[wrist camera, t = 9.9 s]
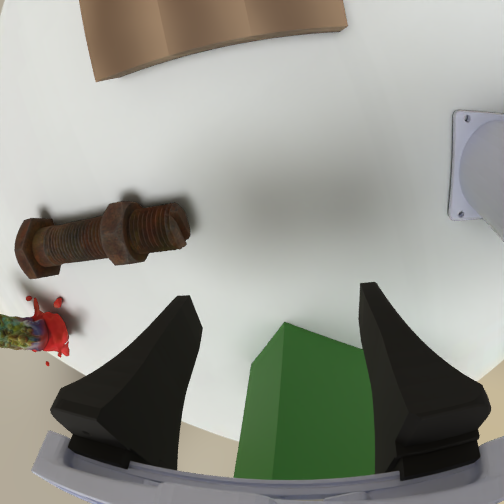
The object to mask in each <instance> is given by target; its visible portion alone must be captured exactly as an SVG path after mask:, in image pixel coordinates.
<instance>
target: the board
mask: <svg viewBox="0 0 504 504" xmlns="http://www.w3.org/2000/svg"><path fill="white" fill-rule="evenodd" d="M79 3H80V9H81V15H82V20H83V25H84V31H85V36H86V41H87V45H88V50H89V55H90V59H91V64H92V68H93V72H94V76H95V80H96V82H99V81H104V80H109V79H114V78H119V77H122V76H125V75H128V74H130V73H133V72H136V71H139V70H142V69H145V68H148V67H151V66H154V65H157V64H160V63H163V62H167V61H170V60H173V59H177V58H180V57H184V56H188V55H191V54H195V53H199V52H203V51H207V50H212V49H216V48H220V47H225V46H230V45H235V44H240V43H245V42H251V41H257V40H263V39H270V38H277V37H284V36H293V35H302V34H313V33H327V32H340V31H341V30H343V29H344V28H346V27H347V26H348V25H347V19H346V14H345V9H344V5H343V0H79Z"/></svg>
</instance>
